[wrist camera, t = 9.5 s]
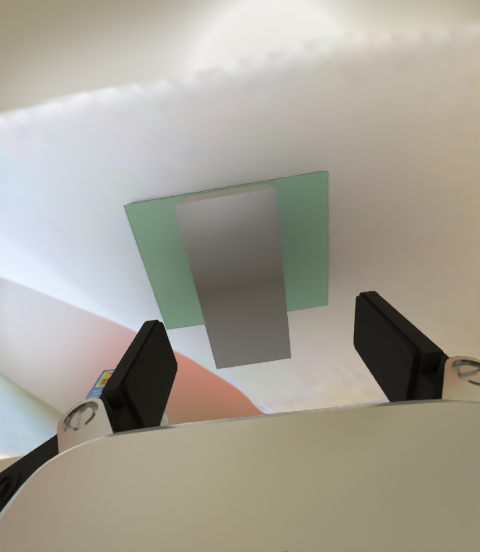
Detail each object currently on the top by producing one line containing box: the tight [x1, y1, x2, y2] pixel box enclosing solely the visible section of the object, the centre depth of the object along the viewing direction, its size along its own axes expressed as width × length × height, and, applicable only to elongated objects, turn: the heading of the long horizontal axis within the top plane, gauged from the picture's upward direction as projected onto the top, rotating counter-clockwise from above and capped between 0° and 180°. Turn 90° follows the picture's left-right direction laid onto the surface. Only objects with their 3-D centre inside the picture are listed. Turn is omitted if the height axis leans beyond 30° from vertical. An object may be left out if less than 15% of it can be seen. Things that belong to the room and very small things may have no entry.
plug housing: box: [174, 183, 291, 369], centre depth 18 cm, size 12×6×6 cm, turn 9°
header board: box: [124, 171, 328, 330], centre depth 19 cm, size 16×12×5 cm
